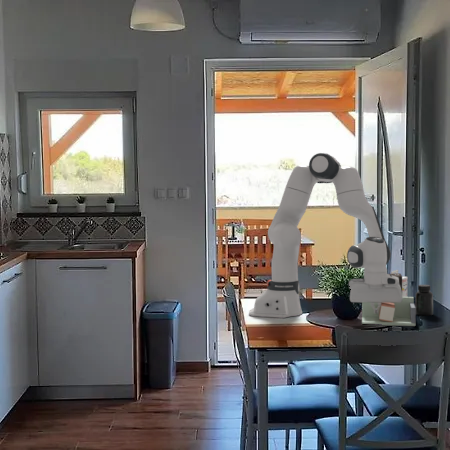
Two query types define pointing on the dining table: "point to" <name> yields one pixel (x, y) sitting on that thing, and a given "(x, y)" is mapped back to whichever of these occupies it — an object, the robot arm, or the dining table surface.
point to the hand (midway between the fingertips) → (376, 313)
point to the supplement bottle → (424, 301)
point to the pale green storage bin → (402, 313)
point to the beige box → (387, 312)
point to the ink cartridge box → (403, 284)
